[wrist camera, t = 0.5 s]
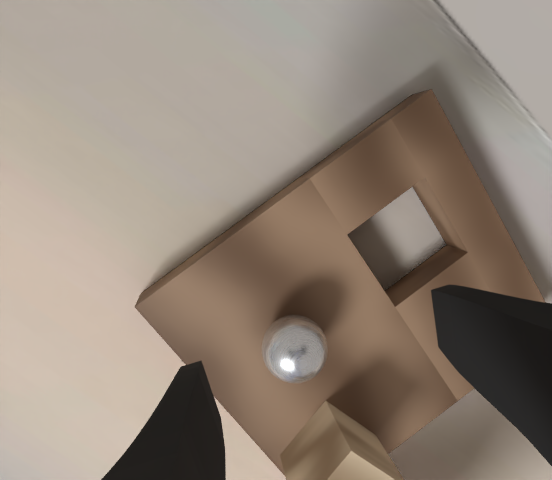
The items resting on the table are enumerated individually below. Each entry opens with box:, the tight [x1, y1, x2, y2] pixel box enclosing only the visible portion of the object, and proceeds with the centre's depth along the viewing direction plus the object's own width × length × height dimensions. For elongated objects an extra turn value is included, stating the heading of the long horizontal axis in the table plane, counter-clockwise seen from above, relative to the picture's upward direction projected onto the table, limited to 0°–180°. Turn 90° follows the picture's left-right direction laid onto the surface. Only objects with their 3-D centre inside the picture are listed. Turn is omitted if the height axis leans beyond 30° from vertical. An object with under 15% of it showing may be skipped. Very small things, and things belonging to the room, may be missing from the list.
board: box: [135, 89, 546, 475], centre depth 23 cm, size 18×16×2 cm
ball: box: [262, 315, 328, 383], centre depth 20 cm, size 3×3×3 cm
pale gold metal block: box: [280, 401, 404, 480], centre depth 21 cm, size 4×4×4 cm
